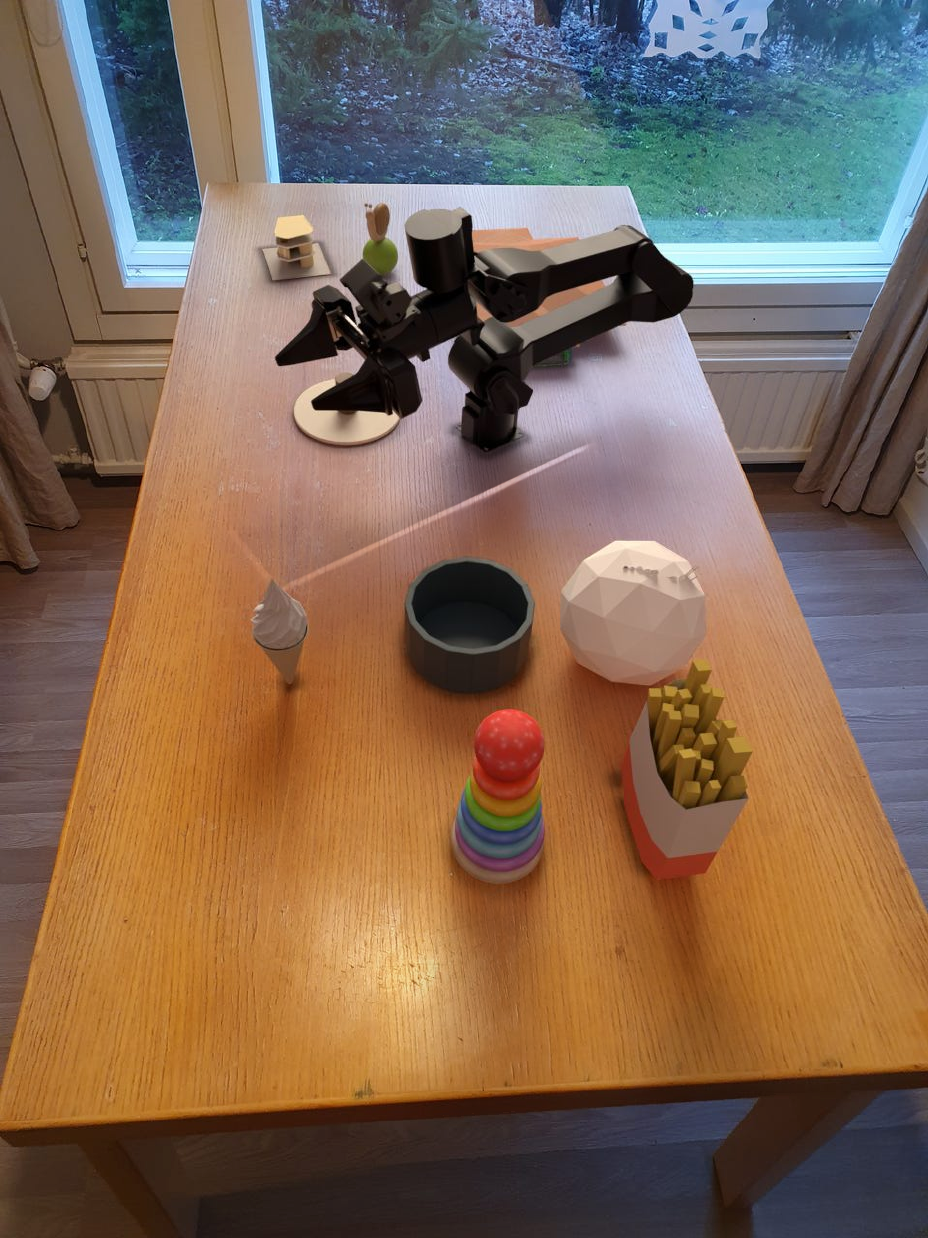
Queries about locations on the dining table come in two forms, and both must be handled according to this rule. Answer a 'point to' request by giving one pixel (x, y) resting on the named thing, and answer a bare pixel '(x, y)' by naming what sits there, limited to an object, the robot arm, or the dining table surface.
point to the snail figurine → (379, 240)
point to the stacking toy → (502, 801)
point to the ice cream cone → (280, 629)
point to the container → (468, 624)
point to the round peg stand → (340, 419)
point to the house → (524, 241)
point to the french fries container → (683, 776)
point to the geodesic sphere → (633, 612)
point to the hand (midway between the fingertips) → (293, 383)
